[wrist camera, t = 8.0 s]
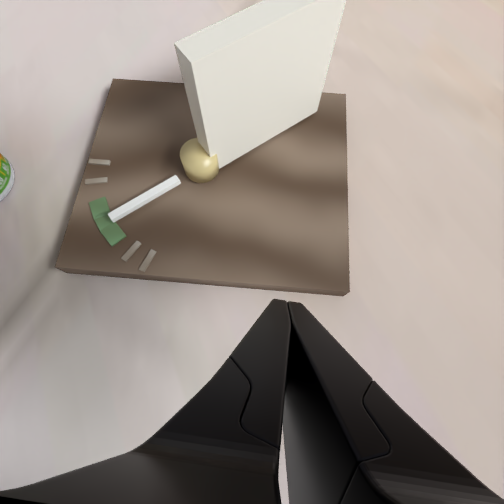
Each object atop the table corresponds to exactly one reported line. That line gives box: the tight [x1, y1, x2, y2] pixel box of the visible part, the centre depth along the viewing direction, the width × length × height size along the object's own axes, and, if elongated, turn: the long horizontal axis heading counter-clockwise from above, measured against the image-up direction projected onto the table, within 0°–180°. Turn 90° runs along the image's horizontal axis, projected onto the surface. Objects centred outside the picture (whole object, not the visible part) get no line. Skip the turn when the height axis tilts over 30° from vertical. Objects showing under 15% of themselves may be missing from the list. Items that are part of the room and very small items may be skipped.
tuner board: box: [55, 79, 350, 296], centre depth 24 cm, size 17×20×2 cm
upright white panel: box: [108, 0, 346, 222], centre depth 19 cm, size 3×18×9 cm, turn 125°
